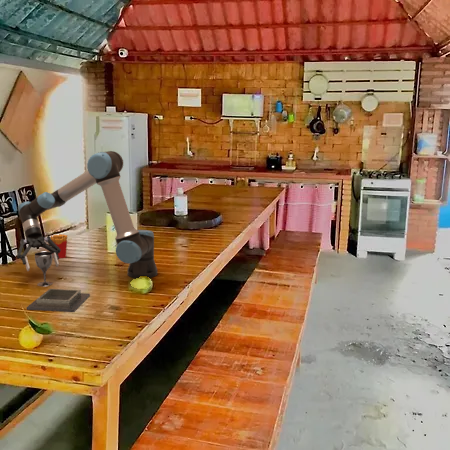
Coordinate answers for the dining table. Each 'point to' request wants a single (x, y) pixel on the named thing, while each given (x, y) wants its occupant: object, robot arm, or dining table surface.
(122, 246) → the robot arm
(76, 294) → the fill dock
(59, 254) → the french fries
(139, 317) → the dining table surface
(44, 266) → the wine glass
